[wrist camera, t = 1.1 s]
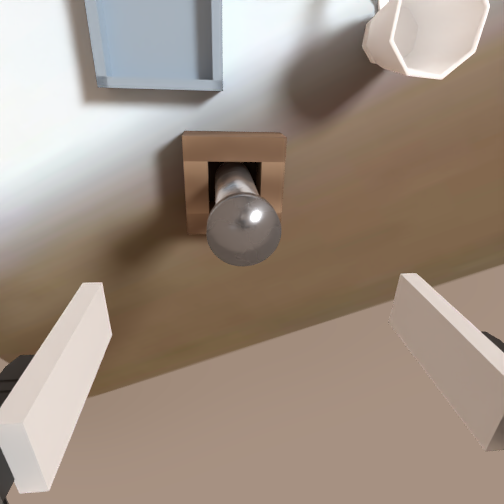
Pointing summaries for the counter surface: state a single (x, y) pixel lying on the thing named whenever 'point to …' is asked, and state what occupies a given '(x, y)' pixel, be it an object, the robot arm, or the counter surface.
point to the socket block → (230, 150)
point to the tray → (157, 43)
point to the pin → (241, 219)
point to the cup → (424, 35)
